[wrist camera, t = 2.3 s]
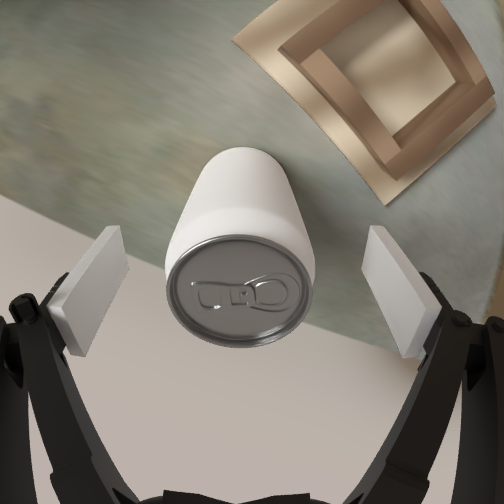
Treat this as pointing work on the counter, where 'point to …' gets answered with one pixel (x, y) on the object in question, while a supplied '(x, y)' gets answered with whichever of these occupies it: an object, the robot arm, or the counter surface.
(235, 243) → the can
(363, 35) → the keeper board
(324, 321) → the counter surface
